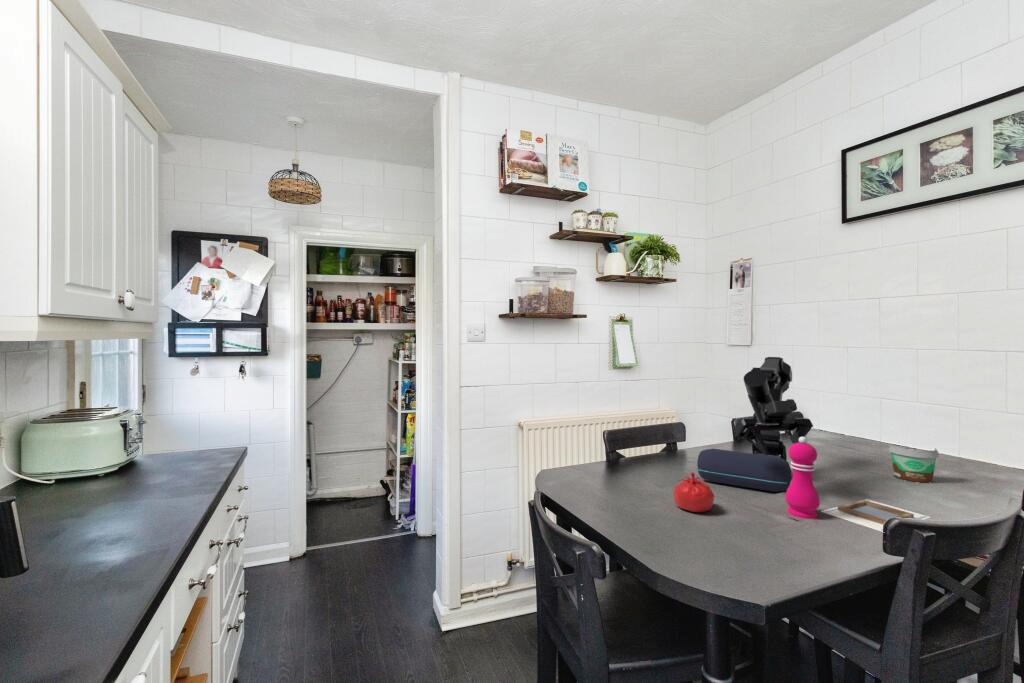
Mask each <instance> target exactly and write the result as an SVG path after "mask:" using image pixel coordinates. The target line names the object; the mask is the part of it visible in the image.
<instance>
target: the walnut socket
mask: <svg viewBox="0 0 1024 683" xmlns="http://www.w3.org/2000/svg"><path fill="white" fill-rule="evenodd" d="M865 505H866V506H870V507H873V508H876V509H880V510H883V511H887V512H890V513H893V514H897V515H899V516H896V517H901V518H914V514H912V513H908V512H905V511H901V510H898V509H894V508H891V507H887V506H884V505H880V504H877V503H873V502H870V501H866V500H865V499H861V500H857V501H854V502H850V503H845V504H842V505H838V506H837V507H838V511H841V512H845V513H848V514H851V515H854V516H857V517H860V518H863V519H867V520H870V521H873V522H876V523H879V524H882V525H884V522H885V521H886V520H887V519H886V520H885V519H882V518H878V517H875V516H872V515H869V514H865V513H862V512H859V511H856V510H852V509H854V508H857V507H861V506H865ZM893 518H894V517H893Z"/></svg>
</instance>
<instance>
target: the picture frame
mask: <svg viewBox="0 0 1024 683" xmlns="http://www.w3.org/2000/svg"><path fill="white" fill-rule="evenodd" d="M864 500H866V501H870V502H873V503H877V504H880V505H884V506H887V507H891V508H894V509H898V510H901V511H905V512H908V513H912V514H914V519H922V521H925V520H928V519H930V518H932V517H931V516H929V515H928V516H927V515H924V514H921V513H917V512H914V511H910V510H906V509H903V508H900V507H896V506H893V505H888V504H886V503H883V502H882V503H881V502H879V501H875V500H871V499H868V498H866V499H864ZM852 510H856V511H859V512H862V513H865V514H869V515H872V516H875V517H878V518H882V519H885V520H886V519H889V518H892V517H896V516H899V515H897V514H893V513H890V512H887V511H883V510H880V509H876V508H873V507H870V506H866V505H865V506H861V507H857V508H854V509H852ZM820 513H824V514H826V515H829V516H830V515H831V516H833V517H835V518H836V517H837V518H839V519H842V520H846V521H849V522H851V523H854V524H857V525H860V526H864V527H867V528H870V529H873V530H876V531H878V532H882V533H884V532H883V525H882V524H879V523H876V522H873V521H870V520H867V519H863V518H860V517H857V516H854V515H851V514H848V513H845V512H841V511H838V506H836V507H832V508H828V509H824V510H821V511H820Z"/></svg>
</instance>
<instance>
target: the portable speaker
mask: <svg viewBox="0 0 1024 683" xmlns="http://www.w3.org/2000/svg"><path fill="white" fill-rule="evenodd" d="M696 464H697V471H698V472H697V473H698V474H699V476H700V477H699V478H700V479H702V480H704V481H705V480H707V481H706V482H711V483H715V484H716V483H717V484H721V485H722V484H723V485H724V484H725V485H728V486H735V487H742V488H747V489H748V488H749V489H753V490H759V491H764V492H765V491H766V492H772V493H786V492H787V489H788V487H789V486H790V484H791V481H792V468H791V465H790V463H789V461H787V460H784V459H782V458H779V457H775V456H766V455H760V454H753V452H752V453H750V452H744V451H743V452H742V451H735V450H727V449H720V448H719V449H718V448H706V449H703V450H700V451H699V453H698V455H697V463H696Z"/></svg>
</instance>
